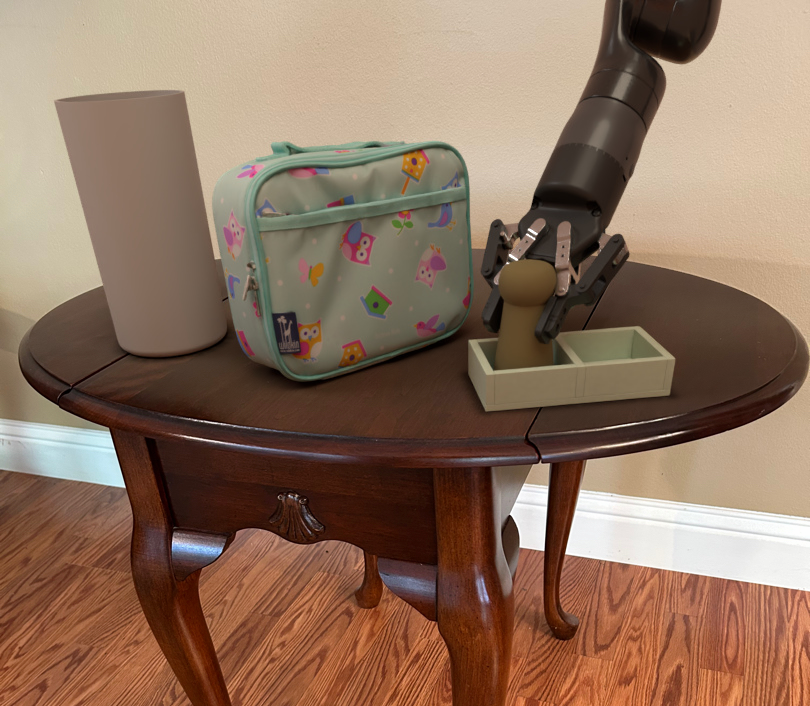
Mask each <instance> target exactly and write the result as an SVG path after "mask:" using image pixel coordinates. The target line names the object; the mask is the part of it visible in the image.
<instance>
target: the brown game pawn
mask: <svg viewBox="0 0 810 706" xmlns="http://www.w3.org/2000/svg"><path fill="white" fill-rule="evenodd" d="M556 282H557V279H556V271H555V270H554V268H553V266H552V265H550V264H549V263H547V262H545V261H540V260H532V259H526V258H525V259H524V260H518V261H513V262H510V263H509V264H507V265H505V266H504V267H503V269H502V270H501V272H500V276H499V280H498V288H499V293H500V295H501V296H502V298H503V299H504V305H503V312H502V318H501V324H500V329H499V331H498V337H497V338H498V344H497V350H496V357H495V363H494V369H493V371H497V370H508V369H520V368H532V367H544V366H554V361H553V347H552V339H551V341H550V343H549V344H542V343H540V342H539V341H538V340H537V338H536V337H535V334H534V332H535V328H536V326H537V324H538V322H539V319H540V317H541V315H542V313H543V310H544V308H545V306H546V304H547V302H548V299H549V297H550V296H555V294H556V293H555V285H556Z"/></svg>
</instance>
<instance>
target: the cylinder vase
mask: <svg viewBox="0 0 810 706" xmlns="http://www.w3.org/2000/svg"><path fill="white" fill-rule="evenodd" d="M53 103H54V106H55V111H56V114H57V118H58V121H59V125H60V130H61V133H62V136H63V140H64V144H65V147H66V151H67V155H68V160H69V162H70V167H71V171H72V175H73V178H74V182H75V185H76V188H77V189H76V190H77V193H78V196H79V197H78V198H79V200H80V204H81V209H82V211H83V216H84V220H85V223H86V226H87V230H88V234H89V239H90V241H91V245H92V246H91V247H92V249H93V252H94V257H95V260H96V265H97V268H98V272H99V275H100V280H101V282H102V287H103V290H104V294H105V297H106V301H107V305H108V306H107V307H108V309H109V313H110V316H111V320H112V324H113V328H114V331H115V335H116V339H117V343H118V345H119V346H120V347H121V349H122V350H123V351H125V352H126V353H128V354H131V355H134V356H139V357H144V358H145V357H146V358H169V357H176V356H183V355H188V354H192V353H196V352H200V351H203V350H205V349H207V348H208V349H209V348H210V347H212V346H215V344H217V343H218V342H220V341H221V340H223V338H224V337H225V336H226V334H227V331H228V324H227V319H226V313H225V308H224V303H223V296H222V290H221V286H220V285H221V284H220V281H219V275H218V270H217V264H216V258H215V254H214V248H213V241H212V236H211V230H210V225H209V220H208V219H209V218H208V213H207V208H206V204H205V203H206V202H205V198H204V192H203V191H204V190H203V187H202V181H201V175H200V170H199V164H198V159H197V154H196V149H195V143H194V136H193V131H192V127H191V126H192V125H191V120H190V115H189V108H188V103H187V98H186V92H185V91H184V90H180V89H156V90H155V89H153V90H150V89H149V90H133V91H131V90H130V91H119V92H118V91H117V92H105V93H95V94H85V95H76V96H69V97H68V96H67V97H63V98H57V99H54V100H53Z"/></svg>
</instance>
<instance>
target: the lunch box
mask: <svg viewBox="0 0 810 706" xmlns="http://www.w3.org/2000/svg"><path fill="white" fill-rule="evenodd" d="M270 148H271V151H272V154H269V155H265V156H257V157H256V158H254V159H251V160H248V161H244V162H243V163H240V164H237V165H236V166H234V167H231V168H229V169H228V170H227V171H225V172H224V173H222V174H221V176H219V178H218V179H217V180H216V182H215V185H214V187H213V191H212V197H211V209H212V217H213V224H214V229H215V233H216V234H215V235H216V240H217V245H218V251H219V256H220V261H221V266H222V271H223V276H224V281H225V285H226V290H227V291H226V292H227V296H228V302H229V308H230V313H231V318H232V322H233V326H234V331H235V334H236V338H237V341H238V344H239V346H240V348H241V350H242V352H243V353H244V354H245V356H246V357H247V358H248V359H250V360H251V361H253V362H254V363H256V364H259V365H263V366H266V367H268V368H270V369H271V368H272V369H275V370H277V371H279V372H280V374H281V375H283V376H284V377H286V378H287V379H289V380H291V381H295V382H314V381H318V380H322V381H324V380H327V379H332V378H334V377H338V376H342V375H346V374H349V373H352V372H355V371H359V370H361V369H365V368H368V367H370V366H373V365H377V364H379V363H383V362H385V361H388V360H390V359H391V360H392V359H393V358H396V357H398V356H401V355H404V354H407V353H410V352H415V351H417V350H420V349H423V348H425V347H427V346H430V345H433V344H436V343H437V342H439V341H442V340H444V339H447V338H449V337H451V336H452V335H454V334H455V333H457V331H458V330H460V328H461V327H462V326H463V325H464V323H465V321H466V320H467V318H468V316H469V315H470V312H471V309H472V305H473V300H474V292H475V291H474V290H475V287H474V285H475V284H474V283H475V281H474V264H473V247H472V246H473V244H472V228H471V198H470V197H471V192H470V189H471V188H470V176H469V172H468V171H469V170H468V166H467V164H466V161H465V158H463V155H462V154H461V153H460V151H459V150H458V149H457V148H456V147H454V146H453V145H451V144H450V143H447V142H445V141H440V140H427V141H419V142H410V143H407V142H405V140H401V141H395V140H394V141H393V140H389V141H379V140H370V141H351V142H347V143H342V144H326V145H314V146H313V145H311V146H304V147H301V146H298V145H296V144H294V143H292V142H290V141H287V140H286V141H285V140H284V141H272V142H271V143H270Z"/></svg>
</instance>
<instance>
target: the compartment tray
mask: <svg viewBox="0 0 810 706" xmlns="http://www.w3.org/2000/svg"><path fill="white" fill-rule="evenodd" d="M497 344H498V337H489V338H488V337H487V338H477V339H468V341H467V345H468V347H467V348H468V349H467V350H468V351H467V354H468V355H467V361H468V362H467V368H468V369H467V375H468V376H469V379H470V381H471V383H472V384H473V387H474V389H475V392H476V394H477V397H478V399H479V400H480V402H481V405H482V407H483V409H484V411H485V412H497V411H508V410H509V411H510V410H521V409H530V408H542V407H554V406H564V405H576V404H589V403H599V402H610V401H623V400H632V399H633V400H634V399H643V398H644V399H645V398H655V397H666V396H667V397H668V396H671V389H672V384H673V383H672V382H673V377H674V371H675V366H676V365H675V364H676V358H675V356H673V354H671V353H670V352H669V351H668V350H667V349H666V348H664V347H663V346H662V345H661V344H660V343H659V342H658V341H656V339H654V338H653V336H651V335H650V334H649V333H648V332H647V331H646V330H644V328H642V327H641V326H640V325H636V326H623V327H610V328H599V329H598V328H597V329H587V330H575V331H574V330H573V331H562V332H561V331H560V332H559V334H558V336H557V337H556V338H555V339H552V347H553V361H554V366H544V367H532V368H520V369H508V370H497V371H493V369H494V363H495V357H496V350H497Z"/></svg>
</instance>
